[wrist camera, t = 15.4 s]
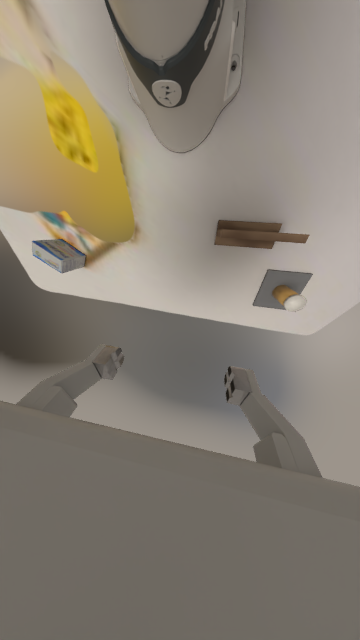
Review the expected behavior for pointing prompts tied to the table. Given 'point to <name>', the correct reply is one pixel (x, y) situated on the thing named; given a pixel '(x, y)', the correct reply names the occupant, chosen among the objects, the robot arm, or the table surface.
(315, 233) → the table surface
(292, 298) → the pill bottle
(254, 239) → the wooden stand
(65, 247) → the medicine box
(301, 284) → the mat
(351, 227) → the table surface
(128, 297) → the table surface
